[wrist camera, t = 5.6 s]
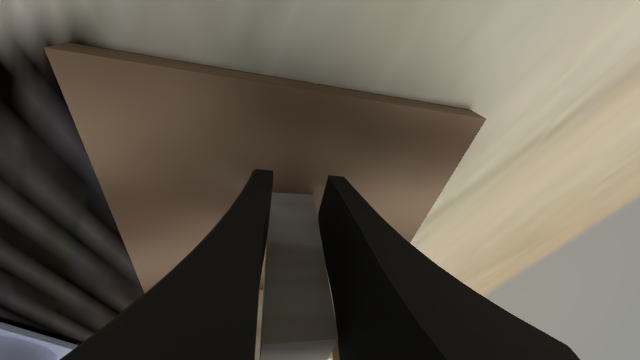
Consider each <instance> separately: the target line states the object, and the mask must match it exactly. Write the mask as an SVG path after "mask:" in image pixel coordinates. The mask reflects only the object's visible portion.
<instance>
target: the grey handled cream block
mask: <svg viewBox="0 0 640 360" xmlns="http://www.w3.org/2000/svg"><path fill="white" fill-rule="evenodd" d="M337 341H338V333H337V327H336V322H335V316H334V310H333V304H332V298H331V293H330V287H329V281H328V275H327V270H326V264H325V258H324V252H323V246H322V241H321V236H320V230H319V223H318V217H317V212H316V206H315V200H314V195H307V194H291V193H274V192H272V198H271V207H270V217H269V226H268V235H267V242H266V251H265V268H264V286H263V290H259V301H258V316H257V332H256V347H255V360H332V359H333V355H332V350H333V348H334V346H335V344H336V343H337Z"/></svg>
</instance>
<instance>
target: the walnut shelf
mask: <svg viewBox="0 0 640 360" xmlns="http://www.w3.org/2000/svg"><path fill="white" fill-rule="evenodd" d="M44 49H45V52H46V54H47V56H48V59H49V61H50V64H51V66H52V69H53V71H54V74H55V76H56V78H57V81H58V83H59V86H60V88H61V91H62V93H63V96H64V98H65V100H66V103H67V105H68V108H69V110H70V113H71V115H72V117H73V120H74V122H75V125H76V127H77V130H78V132H79V135H80V137H81V139H82V142H83V144H84V147H85V149H86V152H87V154H88V156H89V159H90V161H91V164H92V166H93V169H94V171H95V174H96V176H97V178H98V181H99V183H100V186H101V188H102V191H103V193H104V196H105V198H106V200H107V203H108V205H109V208H110V210H111V213H112V215H113V217H114V220H115V222H116V225H117V227H118V230H119V232H120V235H121V237H122V239H123V242H124V244H125V247H126V249H127V252H128V254H129V256H130V259H131V261H132V264H133V266H134V269H135V271H136V274H137V276H138V278H139V281H140V283H141V286H142V288H143V291H144V293H146V292H147V291H148V290H149V289H151V288H152V287H153V286H154V285H155V284H156V283H158V282H159V281H160V280H161V279H162V278H163V277H164V276H166V275H167V274H168V273H169V272H170V271H171V270H172V269H173V268H174V267H175V266H176V265H177V264H179V263H180V262H181V261H182V260H183V259H184V258H185V257H186V256H187V255H188V254H189V253H190V252H191V251H192V250H193V249H194V248H195V247H196V246H197V245H198V244H199V243H200V242H201V241H202V240H203V239H204V238H205V237H206V236H207V235H208V233H209V232H210V231H211V230H212V229H213V228H214V227H215V226H216V224H217V223H218V222H219V221H220V219H221V218H222V217H223V216H224V215H225V213H226V212H227V211H228V210H229V208H230V207H231V206H232V204H233V203H234V201H235V200H236V199H237V197H238V196H239V194H240V193H241V192H242V190H243V188H244V187H245V185H246V183H247V182H248V180H249V178H250V176H251V174H252V171H254V170H255V169H262V170H273V188H272V192H274V193H291V194H307V195H314V200H315V206H316V212H317V217H318V212H319V209H320V205H321V201H322V197H323V193H324V190H325V186H326V182H327V178H328V175H331V176H343V177H345V178H346V179H347V180H348V182H349V183H350V184H351V185H352V186H353V187H354V188H355V189H356V190H357V191H358V193H359V194H360V195H361V196H362V197H363V198H364V199H365V200H366V201H367V202H368V203H369V204H370V206H371V207H372V208H373V209H374V210H375V211H376V212H377V213H378V214H379V215H380V216H381V217H382V218H383V219H384V220H385V221H386V222H387V223H388V224H389V225H390V226H391V227H393V228H394V229H395V230H396V231H397V232H398V233H399V234H400V235H401V236H402V237H403V238H405V239H406V240H407V241H408V242H409V243H410V242H411V240H412V239H413V237H414V235H415V234H416V232H417V231H418V229H419V227H420V226H421V224H422V222H423V221H424V219H425V218H426V216H427V214H428V213H429V211H430V209H431V208H432V206H433V205H434V203H435V201H436V200H437V198H438V196H439V195H440V193H441V192H442V190H443V188H444V187H445V185H446V183H447V182H448V180H449V179H450V177H451V175H452V174H453V172H454V170H455V169H456V167H457V166H458V164H459V162H460V161H461V159H462V157H463V156H464V154H465V153H466V151H467V149H468V148H469V146H470V144H471V143H472V141H473V140H474V138H475V136H476V135H477V133H478V131H479V130H480V128H481V127H482V125H483V123H484V122H485V120H486V119H485V118H484V117H482V116H480V115H479V114H477V113H475V112H473V111H472V110H467V109H461V108H455V107H449V106H443V105H437V104H431V103H425V102H420V101H414V100H408V99H402V98H396V97H390V96H384V95H378V94H372V93H366V92H360V91H354V90H348V89H342V88H336V87H330V86H324V85H318V84H313V83H307V82H301V81H295V80H289V79H283V78H277V77H271V76H265V75H259V74H253V73H247V72H241V71H235V70H229V69H223V68H217V67H212V66H206V65H200V64H194V63H188V62H182V61H176V60H170V59H164V58H158V57H152V56H146V55H140V54H134V53H128V52H122V51H116V50H110V49H105V48H99V47H93V46H87V45H81V44H75V43H64V44H59V45H54V46H49V47H44ZM318 223H319V222H318ZM265 251H266V248H265ZM264 268H265V255H264V261H263V267H262V273H261V279H260V286H259V290H263V286H264ZM326 270H327V269H326ZM327 275H328V274H327ZM328 281H329V279H328ZM329 287H330V283H329ZM330 293H331V288H330ZM331 298H332V293H331ZM332 304H333V298H332ZM333 310H334V304H333ZM334 316H335V312H334ZM335 322H336V321H335ZM332 355H333V359H332V360H340V358H339V348H338V341H337V343H336V344H335V346H334V348H333V350H332Z"/></svg>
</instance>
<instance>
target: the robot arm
mask: <svg viewBox="0 0 640 360" xmlns="http://www.w3.org/2000/svg"><path fill="white" fill-rule="evenodd" d="M272 188H273V170H262V169H255V170H254V171H252V174H251V176H250V178H249V180H248V182H247V183H246V185H245V187H244V188H243V190H242V192H241V193H240V194H239V196H238V197H237V199H236V200H235V201H234V203H233V204H232V206H231V207H230V208H229V210H228V211H227V212H226V213H225V215H224V216H223V217H222V218H221V219H220V221H219V222H218V223H217V224H216V226H215V227H214V228H213V229H212V230H211V231H210V232H209V233H208V235H207V236H206V237H205V238H204V239H203V240H202V241H201V242H200V243H199V244H198V245H197V246H196V247H195V248H194V249H193V250H192V251H191V252H190V253H189V254H188V255H187V256H186V257H185V258H184V259H183V260H182V261H181V262H180V263H179V264H177V265H176V266H175V267H174V268H173V269H172V270H171V271H170V272H169V273H168V274H167V275H166V276H164V277H163V278H162V279H161V280H160V281H159V282H158V283H156V284H155V285H154V286H153V287H152V288H151V289H149V290H148V291H147V292H146V293H145V294H143V295H142V296H141V297H140V298H138V299H137V300H136V301H135V302H134V303H132V304H131V305H130V306H129V307H127V308H126V309H125V310H124V311H122V312H121V313H120V314H119V315H118V316H116V317H115V318H114V319H113V320H111V321H110V322H109V323H108V324H106V325H105V326H104V327H103V328H101V329H100V330H99V331H97V332H96V333H95V334H93V335H92V336H91V337H89V338H88V339H87V340H85V341H84V342H83V343H81V344H80V345H76V344H73V343H69V342H66V341H63V340H59V339H56V338H53V337H49V336H46V335H43V334H39V333H36V332H33V331H29V330H26V329H23V328H19V327H16V326H13V325H9V324H6V323H3V322H0V360H255V347H256V332H257V316H258V301H259V286H260V279H261V273H262V267H263V261H264V255H265V248H266V242H267V235H268V226H269V217H270V207H271V198H272ZM318 222H319V230H320V236H321V241H322V246H323V252H324V258H325V264H326V269H327V274H328V279H329V283H330V288H331V293H332V298H333V304H334V312H335V321H336V327H337V333H338V348H339V358H340V360H580V359H579V358H578V357H577V355H576V354H575V353H574V352H573V351H572V350H571V349H570V348H569V347H568V346H567V345H565V344H564V343H562V342H560V341H558V340H556V339H555V338H553V337H551V336H549V335H548V334H546V333H544V332H542V331H541V330H539V329H537V328H535V327H533V326H532V325H530V324H528V323H526V322H524V321H523V320H521V319H519V318H517V317H516V316H514V315H512V314H511V313H509V312H507V311H506V310H504V309H502V308H501V307H499V306H497V305H496V304H494V303H493V302H491V301H489V300H488V299H486V298H485V297H483V296H482V295H480V294H478V293H477V292H475V291H474V290H472V289H471V288H469V287H468V286H466V285H465V284H463V283H462V282H460V281H459V280H458V279H456V278H455V277H453V276H452V275H451V274H449V273H448V272H446V271H445V270H444V269H442V268H441V267H439V266H438V265H437V264H435V263H434V262H433V261H431V260H430V259H429V258H427V257H426V256H425V255H424V254H423V253H421V252H420V251H419V250H418V249H416V248H415V247H414V246H413V245H412V244H410V243H409V242H408V241H407V240H406V239H405V238H403V237H402V236H401V235H400V234H399V233H398V232H397V231H396V230H395V229H394V228H393V227H391V226H390V225H389V224H388V223H387V222H386V221H385V220H384V219H383V218H382V217H381V216H380V215H379V214H378V213H377V212H376V211H375V210H374V209H373V208H372V207H371V206H370V204H369V203H368V202H367V201H366V200H365V199H364V198H363V197H362V196H361V195H360V194H359V193H358V191H357V190H356V189H355V188H354V187H353V186H352V185H351V184H350V183H349V182H348V180H347V179H346V178H345V177H343V176H331V175H328V178H327V182H326V186H325V190H324V193H323V197H322V201H321V205H320V209H319V212H318Z"/></svg>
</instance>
